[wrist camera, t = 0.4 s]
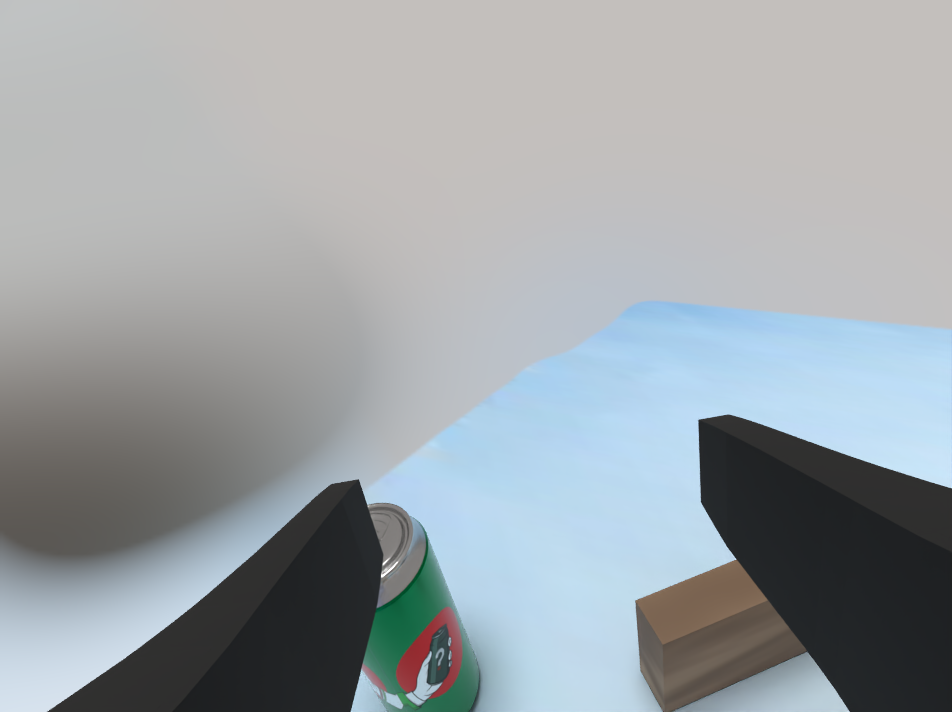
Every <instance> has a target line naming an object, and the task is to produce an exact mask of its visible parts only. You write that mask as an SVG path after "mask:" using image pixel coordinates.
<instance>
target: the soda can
mask: <svg viewBox="0 0 952 712" xmlns="http://www.w3.org/2000/svg"><path fill="white" fill-rule="evenodd" d="M367 506H368V509H369V512H370V515H371V518H372V521H373V524H374V527H375V530H376V533H377V536H378V539H379V542H380V545H381V548H382V551H383V554H384V556H383V565H382V574H381V583H380V590H379V597H378V604H377V608H376V612H375V616H374V621H373V625H372V629H371V633H370V637H369V641H368V645H367V649H366V653H365V657H364V661H363V664H362V668H361V671H362V672H363V674H364V675H365V677H366V678H367V680H368V681H369V683H370V685H371V686H372V688H373V689H374V691H375V692H376V694H377V696H378V697H379V699H380V700H381V702H382V703H383V705H384V707H385V708H386V710H387V711H388V712H469V711H470V709H471V707H472V705H473V703H474V700H475V698H476V694H477V691H478V684H479V669H478V664H477V660H476V657H475V654H474V652H473V649H472V647H471V644H470V642H469V639H468V637H467V634H466V632H465V629H464V627H463V624H462V622H461V619H460V617H459V614H458V612H457V609H456V607H455V604H454V601H453V599H452V596H451V594H450V591H449V589H448V586H447V584H446V581H445V579H444V576H443V574H442V571H441V569H440V566H439V564H438V561H437V559H436V556H435V554H434V551H433V549H432V546H431V544H430V541H429V539H428V536H427V534H426V531H425V529H424V527H423V526H422V525H421V524H420V522H418V521H417V520H416V519H415V518H413V517H411V516H409V515H408V513H407V512H406V511H405V510H403V509H402V508H401V507H399V506H397V505H394V504H389V503H375V504H370V505H367Z"/></svg>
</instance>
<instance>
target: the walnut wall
mask: <svg viewBox="0 0 952 712" xmlns="http://www.w3.org/2000/svg"><path fill="white" fill-rule="evenodd" d="M635 602H636V615H637V629H638V642H639V656H640V669H641V672H642V674H643V676H644V678H645V679H646V681H647V683H648V685H649V687H650V689H651V690H652V692H653V694H654V696H655V698H656V700H657V701H658V703H659V705H660V707H661V709H662V710H663V712H671V711H674V710H676V709H678V708H680V707H683V706H685V705H687V704H689V703H692V702H694V701H696V700H698V699H701V698H703V697H705V696H707V695H710V694H712V693H714V692H716V691H719V690H721V689H723V688H725V687H728V686H730V685H732V684H734V683H737V682H739V681H741V680H743V679H746V678H748V677H750V676H752V675H755V674H757V673H759V672H761V671H764V670H766V669H768V668H770V667H773V666H775V665H777V664H779V663H782V662H784V661H786V660H788V659H791V658H793V657H795V656H797V655H800V654H802V653H804V652H806V651H807V650H806V649H805V647H804V646H803V645H802V644H801V642H800V641H799V640H798V638H797V637H796V636H795V635H794V633H793V632H792V631H791V629H790V628H789V627H788V626H787V624H786V623H785V622H784V620H783V619H782V618H781V616H780V615H779V614H778V613H777V611H776V610H775V609H774V607H773V606H772V605H771V604H770V602H769V601H768V600H767V598H766V597H765V596H764V594H763V593H762V592H761V591H760V589H759V588H758V587H757V585H756V584H755V583H754V582H753V580H752V579H751V578H750V576H749V575H748V574H747V572H746V571H745V570H744V568H743V567H742V566H741V564H740V563H739V562H738V561H737V560H734V561H732V562H729V563H727V564H725V565H722V566H720V567H717V568H715V569H712V570H710V571H707V572H705V573H702V574H700V575H697V576H695V577H693V578H690V579H688V580H685V581H683V582H680V583H678V584H675V585H673V586H670V587H668V588H665V589H663V590H661V591H658V592H656V593H653V594H651V595H648V596H646V597H643V598H641V599H638V600H636V601H635Z"/></svg>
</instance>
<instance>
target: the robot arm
mask: <svg viewBox="0 0 952 712" xmlns="http://www.w3.org/2000/svg"><path fill="white" fill-rule="evenodd" d="M698 422H699V453H700V485H701V503H702V505H703V506H704V508H705V510H706V512H707V514H708V515H709V517H710V519H711V521H712V522H713V524H714V526H715V527H716V529H717V531H718V532H719V534H720V536H721V537H722V539H723V541H724V542H725V544H726V546H727V547H728V548H729V550H730V551H731V552H732V554H733V555H734V557H735V558H736V559H737V561H738V562H739V563H740V564H741V566H742V567H743V568H744V570H745V571H746V572H747V574H748V575H749V576H750V578H751V579H752V580H753V582H754V583H755V584H756V585H757V587H758V588H759V589H760V591H761V592H762V593H763V594H764V596H765V597H766V598H767V600H768V601H769V602H770V604H771V605H772V606H773V607H774V609H775V610H776V611H777V613H778V614H779V615H780V616H781V618H782V619H783V620H784V622H785V623H786V624H787V626H788V627H789V628H790V629H791V631H792V632H793V633H794V635H795V636H796V637H797V638H798V640H799V641H800V642H801V644H802V645H803V646H804V647H805V649H806V650H807V651H808V653H809V654H810V655H811V657H812V658H813V659H814V661H815V662H816V663H817V665H818V666H819V667H820V669H821V670H822V672H823V673H824V674H825V676H826V677H827V679H828V680H829V681H830V683H831V684H832V686H833V687H834V688H835V690H836V691H837V693H838V694H839V696H840V697H841V699H842V700H843V702H844V704H845V705H846V707H847V708H848V710H849V711H850V712H952V488H948V487H945V486H941V485H938V484H935V483H931V482H928V481H925V480H922V479H919V478H915V477H912V476H909V475H906V474H903V473H899V472H896V471H893V470H890V469H887V468H883V467H880V466H877V465H874V464H871V463H868V462H865V461H863V460H860V459H857V458H854V457H851V456H848V455H845V454H842V453H839V452H836V451H834V450H831V449H828V448H825V447H822V446H819V445H817V444H814V443H811V442H808V441H806V440H803V439H800V438H797V437H795V436H792V435H789V434H786V433H784V432H781V431H778V430H775V429H772V428H770V427H767V426H764V425H761V424H758V423H755V422H752V421H749V420H746V419H743V418H740V417H736V416H732V415H723V416H717V417H712V418H706V419H700V420H698ZM383 556H384V554H383V551H382V548H381V545H380V542H379V539H378V536H377V533H376V530H375V527H374V524H373V521H372V518H371V515H370V512H369V509H368V506H367V503H366V500H365V497H364V494H363V491H362V488H361V485H360V482H359V480H353V481H347V482H341V483H335V484H331V485H330V486H328V487H327V488H326V489H325V490H323V491H322V492H321V493H320V494H319V495H318V496H316V497H315V498H314V499H313V500H312V501H311V502H310V503H309V504H308V505H306V506H305V507H304V508H303V509H302V510H301V511H300V512H299V513H298V514H297V515H296V516H295V517H294V518H292V519H291V520H290V521H289V522H288V523H287V524H286V525H285V526H284V527H283V528H282V529H281V530H280V531H278V532H277V533H276V534H275V535H274V536H273V537H272V538H271V539H270V540H269V541H268V542H267V543H266V544H264V545H263V546H262V547H261V548H260V549H259V550H258V551H257V552H256V553H255V554H254V555H253V556H251V557H250V558H249V559H248V560H247V561H246V562H244V563H243V564H242V565H241V566H240V567H239V568H237V569H236V570H235V571H234V572H233V573H232V574H230V575H229V576H228V577H227V578H226V579H225V580H224V581H222V582H221V583H220V584H219V585H218V586H217V587H216V588H214V589H213V590H212V591H211V592H210V593H209V594H207V595H206V596H205V597H204V598H203V599H201V600H200V601H199V602H198V603H197V604H196V605H194V606H193V607H192V608H191V609H189V610H188V611H187V612H185V613H184V614H183V615H182V616H180V617H179V618H178V619H177V620H175V621H174V622H173V623H171V624H170V625H169V626H168V627H166V628H165V629H164V630H162V631H161V632H160V633H158V634H157V635H156V636H154V637H153V638H152V639H150V640H149V641H148V642H146V643H145V644H144V645H143V646H141V647H140V648H138V649H137V650H136V651H134V652H133V653H132V654H130V655H129V656H127V657H126V658H125V659H123V660H122V661H121V662H119V663H118V664H116V665H115V666H113V667H112V668H110V669H109V670H107V671H106V672H105V673H103V674H102V675H100V676H99V677H97V678H96V679H94V680H93V681H91V682H90V683H89V684H87V685H86V686H84V687H83V688H82V689H80V690H78V691H77V692H75V693H74V694H73V695H71V696H70V697H68V698H67V699H65V700H64V701H62V702H61V703H59V704H58V705H56V706H55V707H54V708H52V709H51V710H49V711H48V712H351V708H352V704H353V700H354V696H355V692H356V688H357V684H358V680H359V676H360V672H361V668H362V664H363V661H364V657H365V653H366V649H367V645H368V641H369V637H370V633H371V629H372V625H373V621H374V616H375V612H376V608H377V604H378V597H379V590H380V583H381V574H382V565H383Z"/></svg>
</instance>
